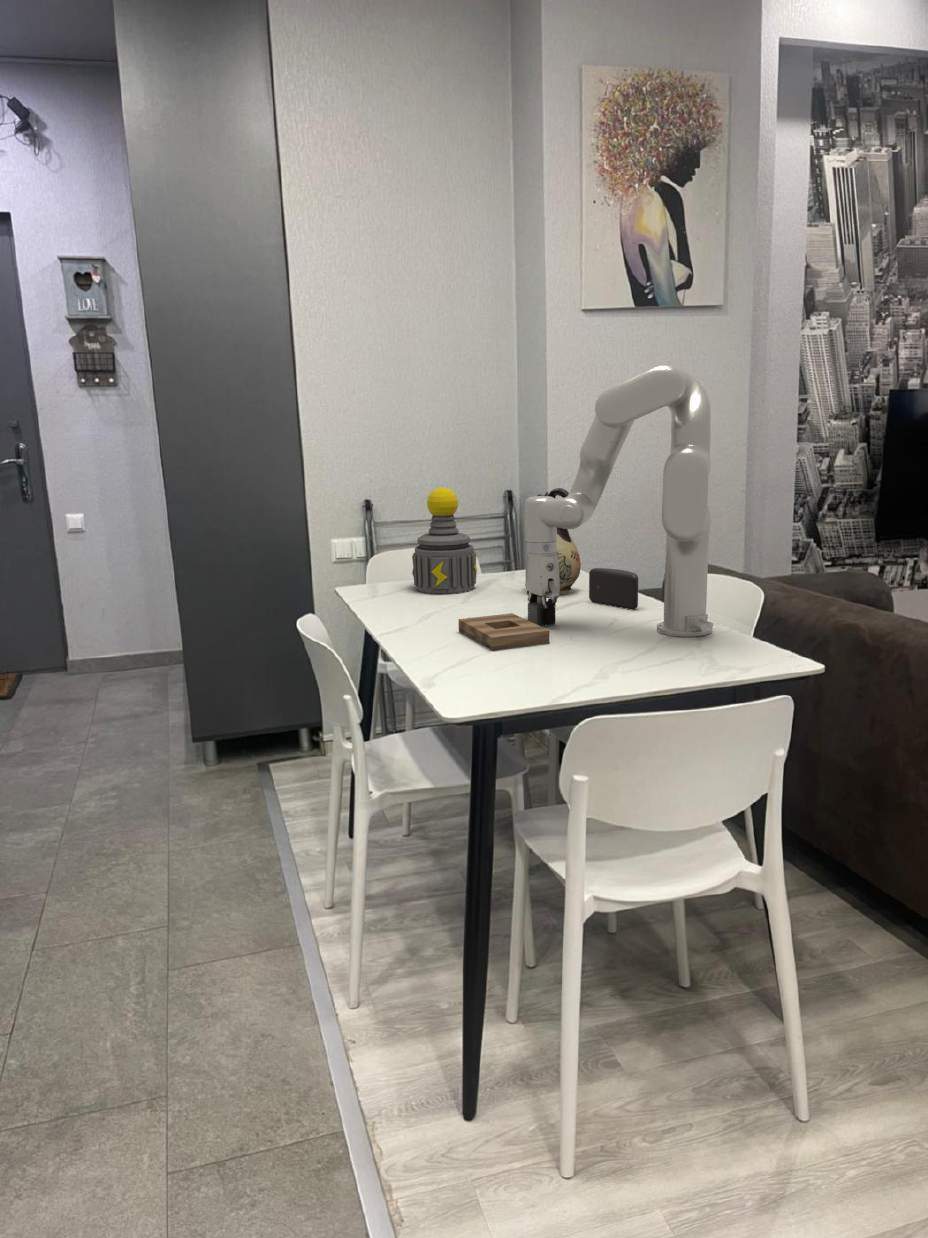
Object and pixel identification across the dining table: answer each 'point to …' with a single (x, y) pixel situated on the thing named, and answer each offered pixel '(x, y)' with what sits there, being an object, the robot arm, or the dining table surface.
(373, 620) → the dining table surface
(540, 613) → the plug
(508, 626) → the socket board
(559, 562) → the ceramic jug
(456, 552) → the decorative lamp
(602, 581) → the rounded red-dot block
